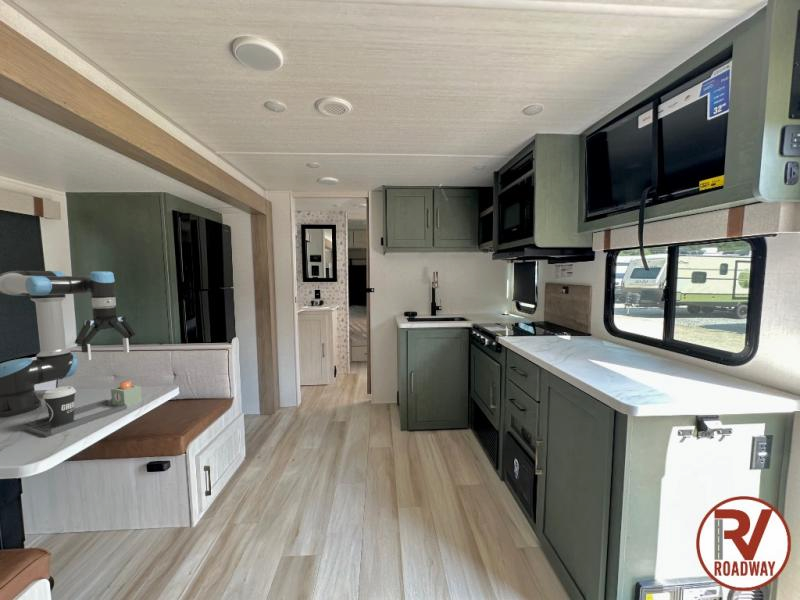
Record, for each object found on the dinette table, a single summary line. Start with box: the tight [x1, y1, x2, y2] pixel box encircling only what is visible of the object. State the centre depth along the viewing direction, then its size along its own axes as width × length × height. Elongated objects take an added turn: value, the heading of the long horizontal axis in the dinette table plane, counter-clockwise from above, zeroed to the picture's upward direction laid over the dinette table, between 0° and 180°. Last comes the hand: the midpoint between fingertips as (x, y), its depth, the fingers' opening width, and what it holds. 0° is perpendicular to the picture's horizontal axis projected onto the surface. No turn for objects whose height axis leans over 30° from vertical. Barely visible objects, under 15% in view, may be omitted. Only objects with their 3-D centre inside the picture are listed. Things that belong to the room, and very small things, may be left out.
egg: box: [119, 380, 132, 390], centre depth 152 cm, size 4×4×6 cm
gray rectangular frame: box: [23, 399, 128, 438], centre depth 136 cm, size 17×26×2 cm, turn 159°
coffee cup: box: [42, 385, 77, 428], centre depth 131 cm, size 10×10×15 cm
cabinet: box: [110, 384, 143, 407], centre depth 152 cm, size 10×8×8 cm
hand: (108, 355), depth 137 cm, fingers open, 13 cm apart
